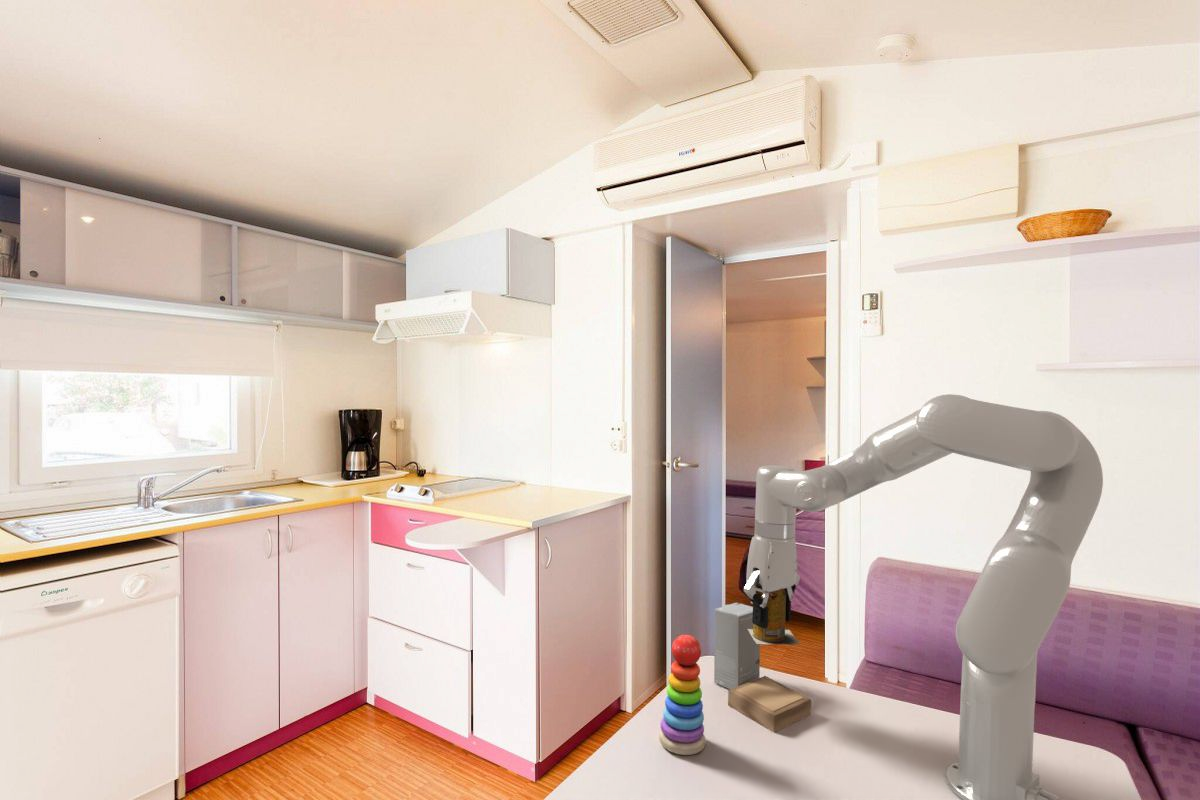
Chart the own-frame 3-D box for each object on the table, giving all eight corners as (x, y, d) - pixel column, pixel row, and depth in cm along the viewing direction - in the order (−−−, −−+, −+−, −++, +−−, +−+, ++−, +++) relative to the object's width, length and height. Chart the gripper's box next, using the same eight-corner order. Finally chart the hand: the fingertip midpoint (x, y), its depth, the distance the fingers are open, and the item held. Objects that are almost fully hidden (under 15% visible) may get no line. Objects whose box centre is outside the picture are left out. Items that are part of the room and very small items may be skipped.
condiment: (747, 629, 118) (748, 570, 118) (789, 630, 118) (791, 571, 118) (756, 645, 111) (758, 581, 111) (801, 646, 111) (803, 582, 111)
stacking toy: (704, 761, 98) (708, 649, 98) (656, 753, 100) (660, 643, 99) (705, 734, 106) (709, 630, 106) (661, 728, 107) (664, 625, 107)
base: (810, 714, 113) (811, 698, 113) (773, 732, 107) (774, 715, 107) (764, 690, 122) (765, 675, 122) (727, 705, 116) (728, 689, 116)
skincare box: (738, 695, 120) (741, 618, 120) (710, 682, 125) (712, 607, 125) (761, 682, 126) (764, 608, 125) (733, 670, 131) (735, 599, 131)
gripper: (786, 521, 122) (783, 608, 123) (729, 530, 112) (726, 625, 113) (818, 529, 116) (815, 620, 116) (760, 539, 106) (757, 639, 106)
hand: (771, 621), depth 114 cm, fingers closed on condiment, 6 cm apart
